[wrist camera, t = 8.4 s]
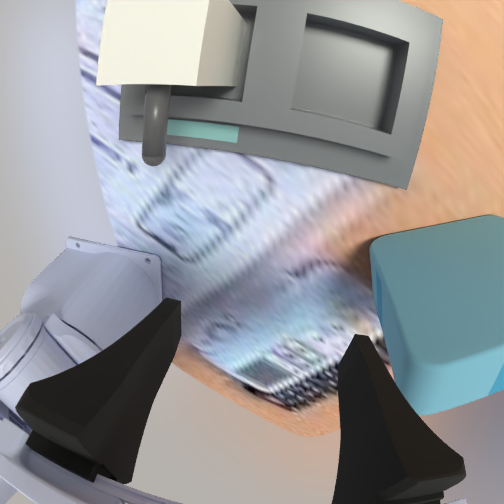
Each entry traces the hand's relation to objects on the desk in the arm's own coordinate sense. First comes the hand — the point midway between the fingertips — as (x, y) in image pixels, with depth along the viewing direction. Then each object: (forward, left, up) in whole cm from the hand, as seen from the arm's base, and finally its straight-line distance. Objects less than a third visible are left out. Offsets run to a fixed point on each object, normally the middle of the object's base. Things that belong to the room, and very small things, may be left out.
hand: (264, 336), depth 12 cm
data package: (+13, +1, -11) cm, 17 cm away
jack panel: (-2, +11, -10) cm, 15 cm away
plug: (-6, +9, -9) cm, 14 cm away
